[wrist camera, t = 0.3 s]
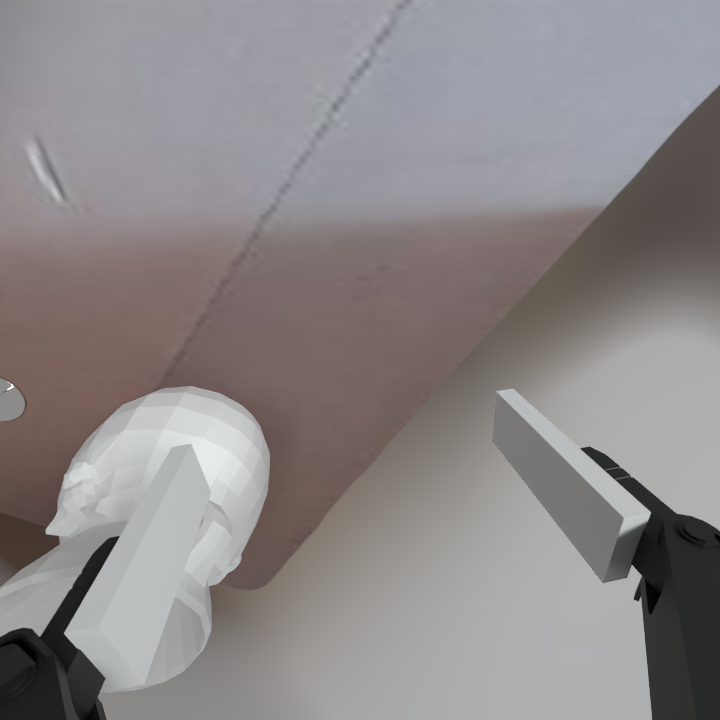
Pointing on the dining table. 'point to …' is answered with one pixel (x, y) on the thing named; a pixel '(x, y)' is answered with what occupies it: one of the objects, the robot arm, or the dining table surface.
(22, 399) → the wineglass
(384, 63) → the dining table surface
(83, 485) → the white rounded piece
